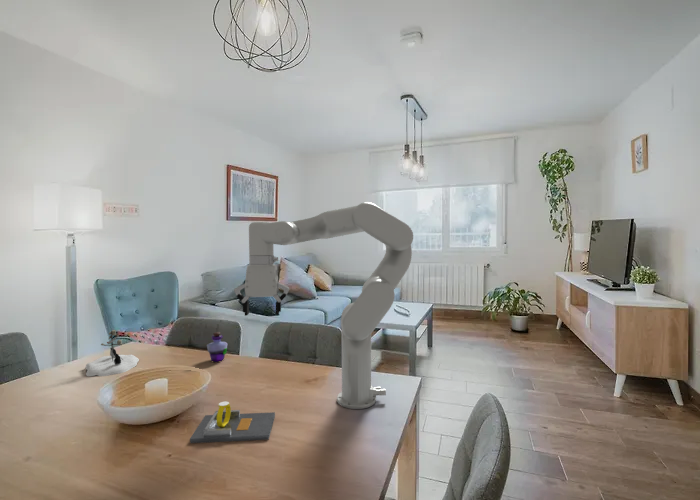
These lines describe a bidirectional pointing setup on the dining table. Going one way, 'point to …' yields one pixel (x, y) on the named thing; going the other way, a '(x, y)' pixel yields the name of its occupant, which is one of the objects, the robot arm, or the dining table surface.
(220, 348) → the potion bottle
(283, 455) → the dining table surface
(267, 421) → the gray fixture board
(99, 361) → the figurine
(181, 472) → the dining table surface
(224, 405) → the watch
